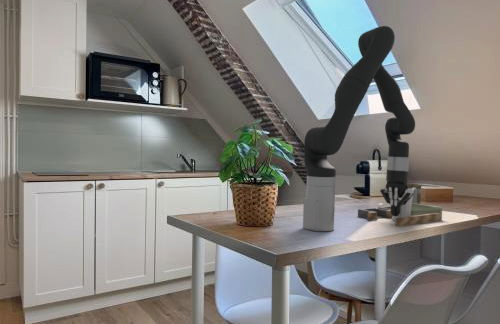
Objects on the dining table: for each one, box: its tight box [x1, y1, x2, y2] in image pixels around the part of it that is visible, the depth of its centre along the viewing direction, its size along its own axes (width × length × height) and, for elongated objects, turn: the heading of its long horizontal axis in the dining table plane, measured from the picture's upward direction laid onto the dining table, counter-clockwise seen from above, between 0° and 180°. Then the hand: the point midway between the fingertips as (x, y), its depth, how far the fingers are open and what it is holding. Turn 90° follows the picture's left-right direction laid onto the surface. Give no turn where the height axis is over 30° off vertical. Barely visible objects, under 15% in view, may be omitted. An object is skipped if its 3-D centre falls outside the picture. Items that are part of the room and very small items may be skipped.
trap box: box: [357, 203, 443, 227], centre depth 141 cm, size 27×20×5 cm
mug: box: [407, 182, 422, 204], centre depth 160 cm, size 16×11×12 cm
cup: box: [391, 188, 414, 221], centre depth 138 cm, size 8×8×12 cm
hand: (395, 215), depth 135 cm, fingers closed
